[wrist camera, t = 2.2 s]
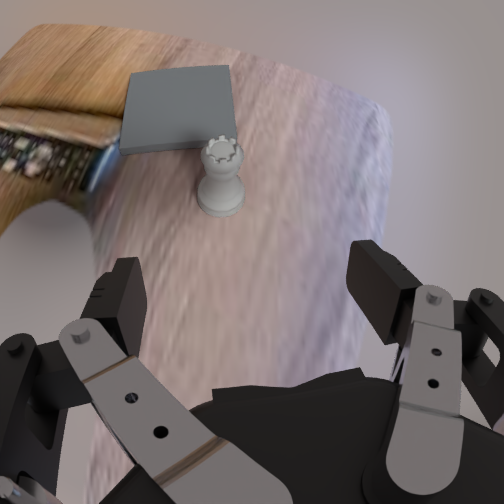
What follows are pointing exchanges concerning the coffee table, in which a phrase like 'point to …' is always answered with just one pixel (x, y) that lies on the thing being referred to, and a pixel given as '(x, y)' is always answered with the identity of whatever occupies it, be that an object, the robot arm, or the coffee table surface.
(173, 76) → the slate tile
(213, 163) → the rook chess piece
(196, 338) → the coffee table surface
